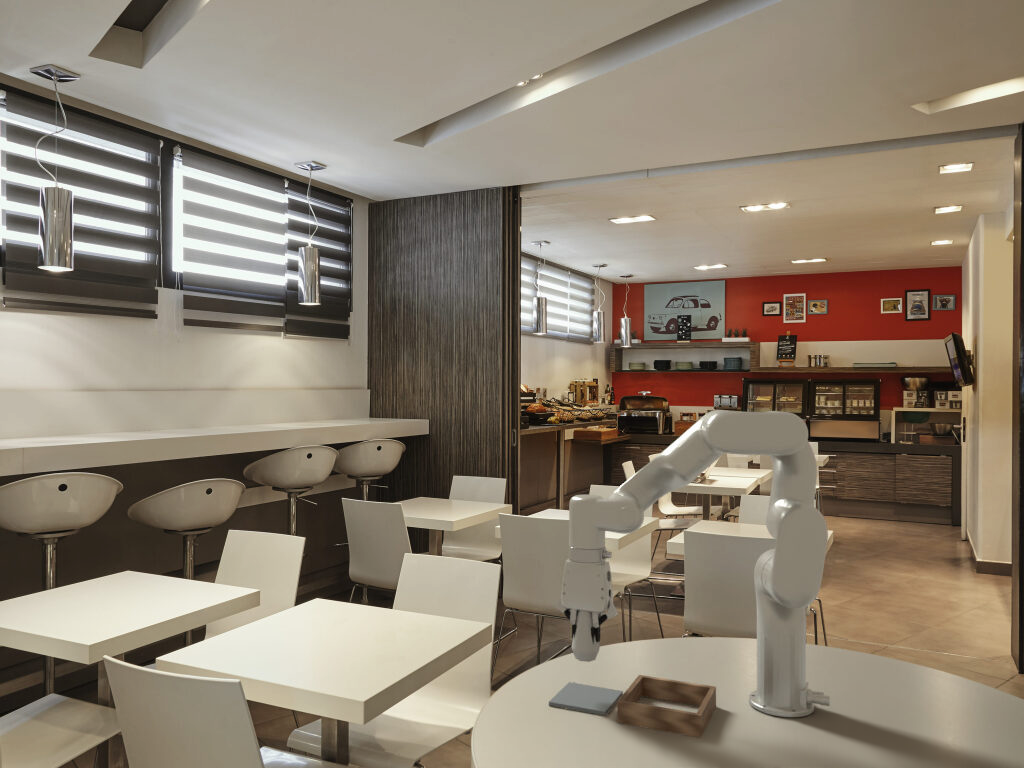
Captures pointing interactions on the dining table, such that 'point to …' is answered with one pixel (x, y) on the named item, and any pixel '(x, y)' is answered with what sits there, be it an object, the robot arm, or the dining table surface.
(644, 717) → the bin
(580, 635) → the salt shaker
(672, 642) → the dining table surface
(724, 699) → the dining table surface
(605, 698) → the mat
